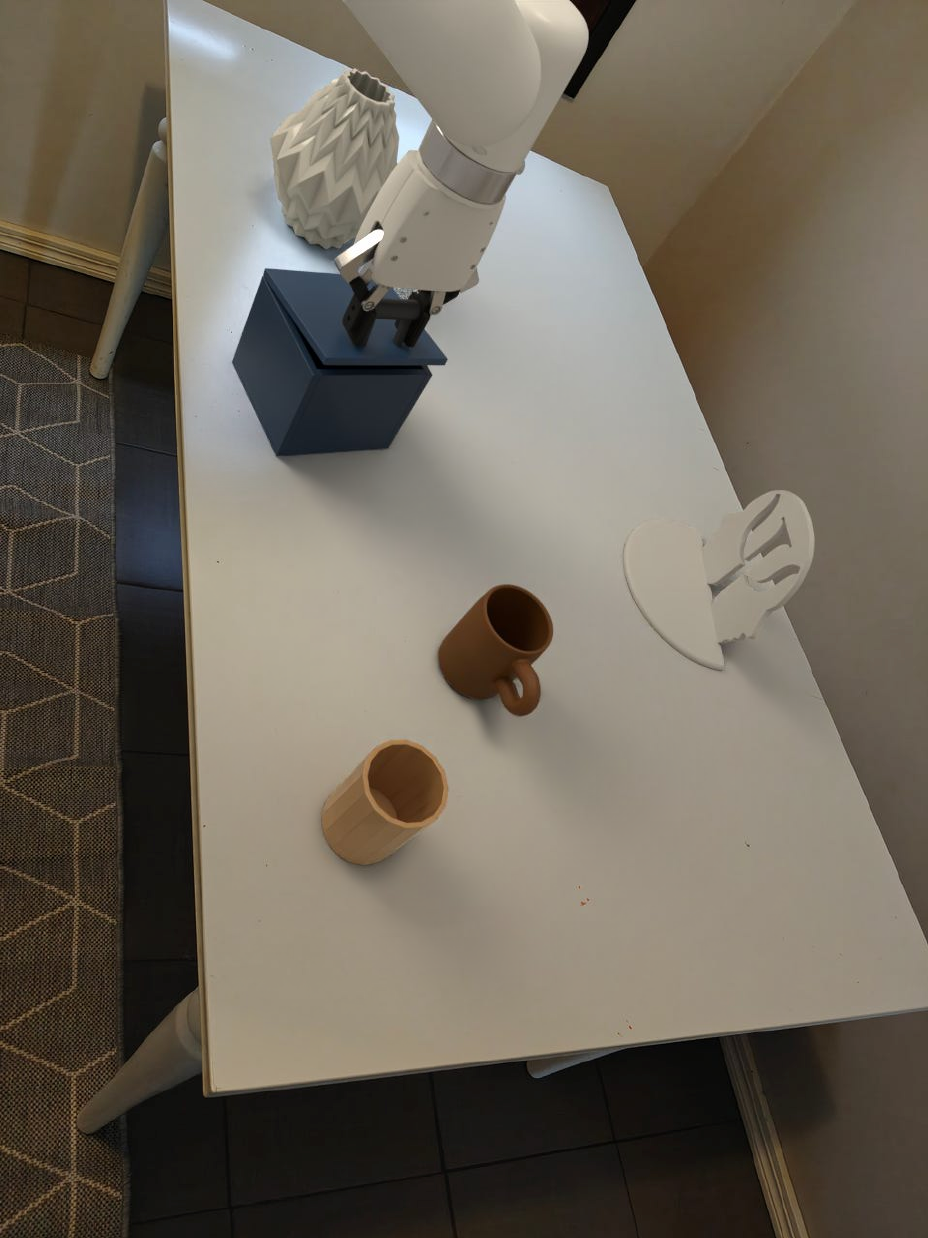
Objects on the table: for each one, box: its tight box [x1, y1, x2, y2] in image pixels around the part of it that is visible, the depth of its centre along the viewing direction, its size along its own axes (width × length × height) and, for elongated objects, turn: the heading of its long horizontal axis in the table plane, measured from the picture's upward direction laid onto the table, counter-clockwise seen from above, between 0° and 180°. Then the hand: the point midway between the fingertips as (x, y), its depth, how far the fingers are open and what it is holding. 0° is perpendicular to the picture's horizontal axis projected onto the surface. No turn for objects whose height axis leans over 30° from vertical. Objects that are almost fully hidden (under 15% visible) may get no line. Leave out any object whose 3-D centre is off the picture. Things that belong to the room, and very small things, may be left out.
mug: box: [438, 583, 554, 717], centre depth 79 cm, size 12×8×9 cm, turn 14°
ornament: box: [622, 489, 815, 671], centre depth 99 cm, size 22×13×17 cm, turn 178°
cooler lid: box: [262, 267, 449, 366], centre depth 80 cm, size 13×14×5 cm
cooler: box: [231, 275, 433, 457], centre depth 87 cm, size 13×14×11 cm
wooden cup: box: [320, 739, 450, 866], centre depth 66 cm, size 7×7×9 cm
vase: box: [269, 67, 400, 250], centre depth 102 cm, size 16×16×18 cm
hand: (378, 333), depth 80 cm, fingers closed on cooler lid, 5 cm apart
